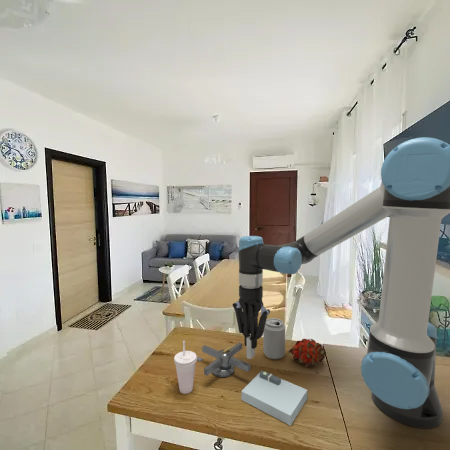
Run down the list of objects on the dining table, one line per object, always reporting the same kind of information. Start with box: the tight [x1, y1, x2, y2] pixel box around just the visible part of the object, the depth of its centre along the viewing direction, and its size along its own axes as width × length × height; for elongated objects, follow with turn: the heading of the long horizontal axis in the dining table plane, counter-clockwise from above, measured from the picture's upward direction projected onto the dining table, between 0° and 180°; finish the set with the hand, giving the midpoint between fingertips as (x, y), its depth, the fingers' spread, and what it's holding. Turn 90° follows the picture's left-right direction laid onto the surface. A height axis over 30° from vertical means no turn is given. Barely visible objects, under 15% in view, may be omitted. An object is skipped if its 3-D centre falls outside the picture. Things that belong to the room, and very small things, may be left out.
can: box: [262, 317, 286, 360], centre depth 92 cm, size 8×8×12 cm
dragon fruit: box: [288, 338, 327, 367], centre depth 88 cm, size 8×8×12 cm
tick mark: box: [196, 356, 204, 362], centre depth 90 cm, size 2×2×1 cm
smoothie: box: [173, 340, 198, 395], centre depth 75 cm, size 6×6×14 cm
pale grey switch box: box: [240, 370, 308, 427], centre depth 71 cm, size 14×11×4 cm
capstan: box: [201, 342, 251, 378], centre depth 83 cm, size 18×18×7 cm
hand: (250, 356), depth 86 cm, fingers closed
